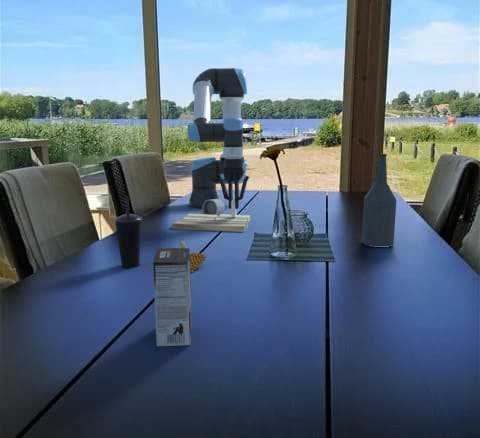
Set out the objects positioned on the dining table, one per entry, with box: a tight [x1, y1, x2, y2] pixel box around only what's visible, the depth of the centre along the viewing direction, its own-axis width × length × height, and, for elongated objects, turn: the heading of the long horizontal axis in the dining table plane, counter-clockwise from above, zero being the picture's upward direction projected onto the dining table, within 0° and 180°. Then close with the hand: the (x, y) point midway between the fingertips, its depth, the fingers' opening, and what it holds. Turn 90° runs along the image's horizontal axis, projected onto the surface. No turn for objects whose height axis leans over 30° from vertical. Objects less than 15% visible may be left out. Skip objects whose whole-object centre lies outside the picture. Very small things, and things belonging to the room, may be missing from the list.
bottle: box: [361, 153, 397, 246], centre depth 148 cm, size 10×10×30 cm
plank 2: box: [216, 213, 251, 223], centre depth 183 cm, size 9×12×2 cm
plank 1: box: [182, 213, 219, 220], centre depth 185 cm, size 9×12×2 cm
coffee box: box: [152, 247, 192, 347], centre depth 85 cm, size 9×6×16 cm
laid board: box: [171, 218, 249, 233], centre depth 175 cm, size 9×28×2 cm, turn 79°
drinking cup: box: [113, 195, 143, 269], centre depth 127 cm, size 8×8×20 cm
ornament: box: [179, 240, 207, 274], centre depth 129 cm, size 7×10×15 cm
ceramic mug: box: [199, 198, 226, 216], centre depth 198 cm, size 11×8×8 cm
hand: (233, 216), depth 183 cm, fingers closed
